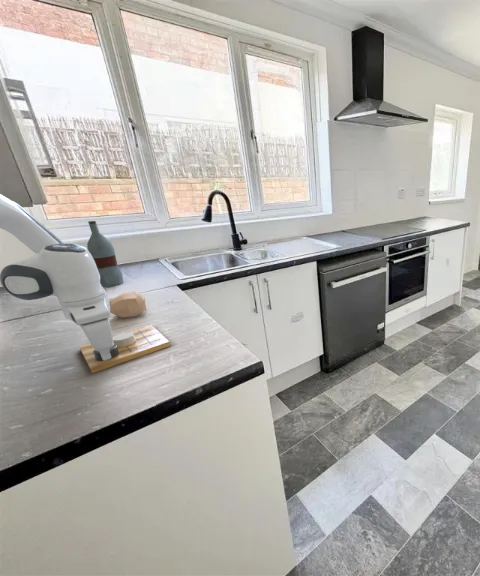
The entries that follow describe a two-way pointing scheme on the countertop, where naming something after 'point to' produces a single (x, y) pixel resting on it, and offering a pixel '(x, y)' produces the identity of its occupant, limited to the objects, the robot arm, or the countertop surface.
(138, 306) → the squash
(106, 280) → the bottle
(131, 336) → the cream stone
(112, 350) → the black stone
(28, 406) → the countertop surface
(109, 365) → the board
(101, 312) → the robot arm
